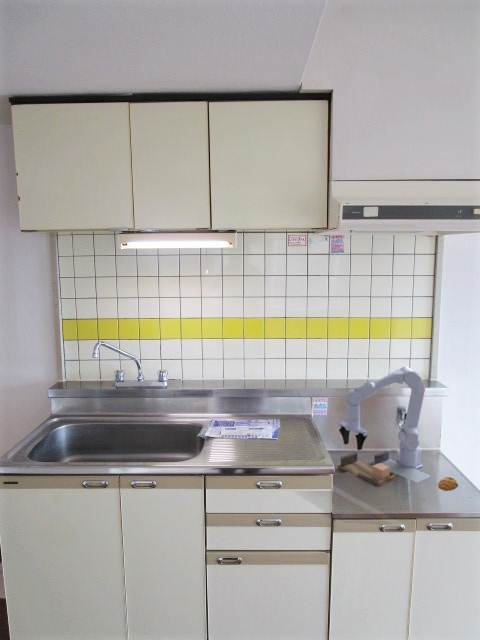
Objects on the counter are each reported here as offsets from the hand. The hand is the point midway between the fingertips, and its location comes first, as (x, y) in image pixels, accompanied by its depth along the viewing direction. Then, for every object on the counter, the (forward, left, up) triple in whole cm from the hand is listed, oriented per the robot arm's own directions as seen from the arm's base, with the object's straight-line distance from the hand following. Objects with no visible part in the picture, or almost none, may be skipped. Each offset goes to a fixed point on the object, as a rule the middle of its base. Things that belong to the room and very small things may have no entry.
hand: (352, 446), depth 191 cm
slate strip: (-11, +17, -9) cm, 22 cm away
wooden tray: (+2, +10, -9) cm, 13 cm away
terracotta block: (+2, +17, -7) cm, 19 cm away
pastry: (-15, +36, -9) cm, 40 cm away
